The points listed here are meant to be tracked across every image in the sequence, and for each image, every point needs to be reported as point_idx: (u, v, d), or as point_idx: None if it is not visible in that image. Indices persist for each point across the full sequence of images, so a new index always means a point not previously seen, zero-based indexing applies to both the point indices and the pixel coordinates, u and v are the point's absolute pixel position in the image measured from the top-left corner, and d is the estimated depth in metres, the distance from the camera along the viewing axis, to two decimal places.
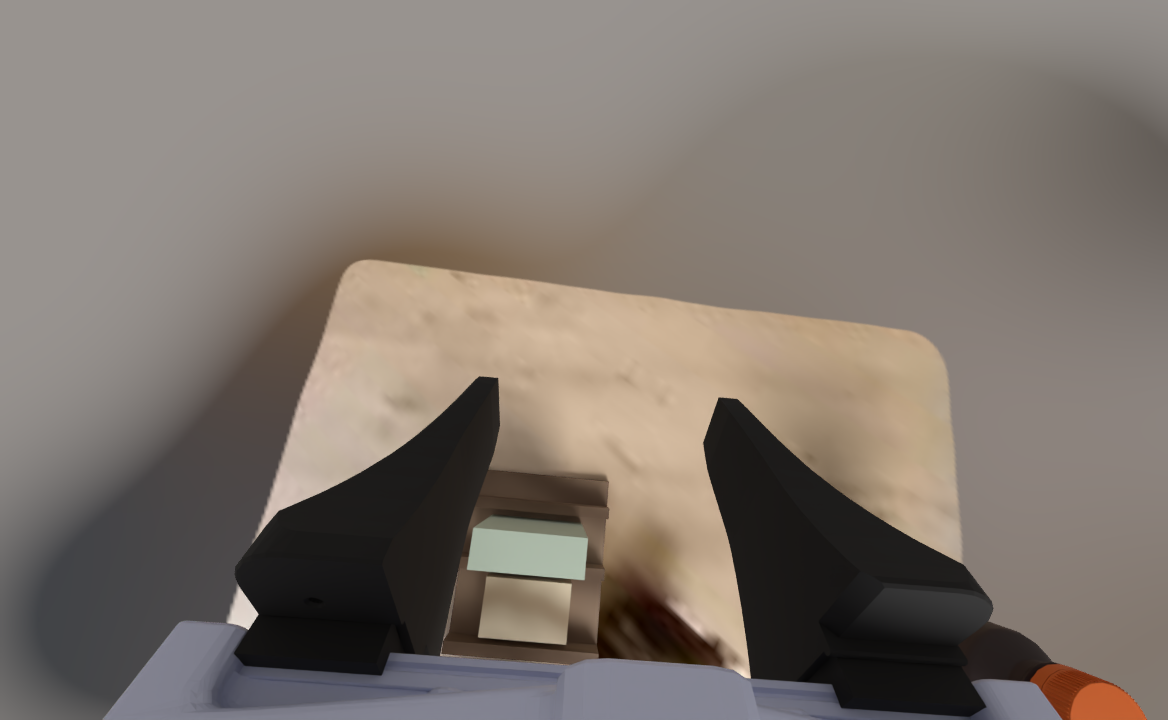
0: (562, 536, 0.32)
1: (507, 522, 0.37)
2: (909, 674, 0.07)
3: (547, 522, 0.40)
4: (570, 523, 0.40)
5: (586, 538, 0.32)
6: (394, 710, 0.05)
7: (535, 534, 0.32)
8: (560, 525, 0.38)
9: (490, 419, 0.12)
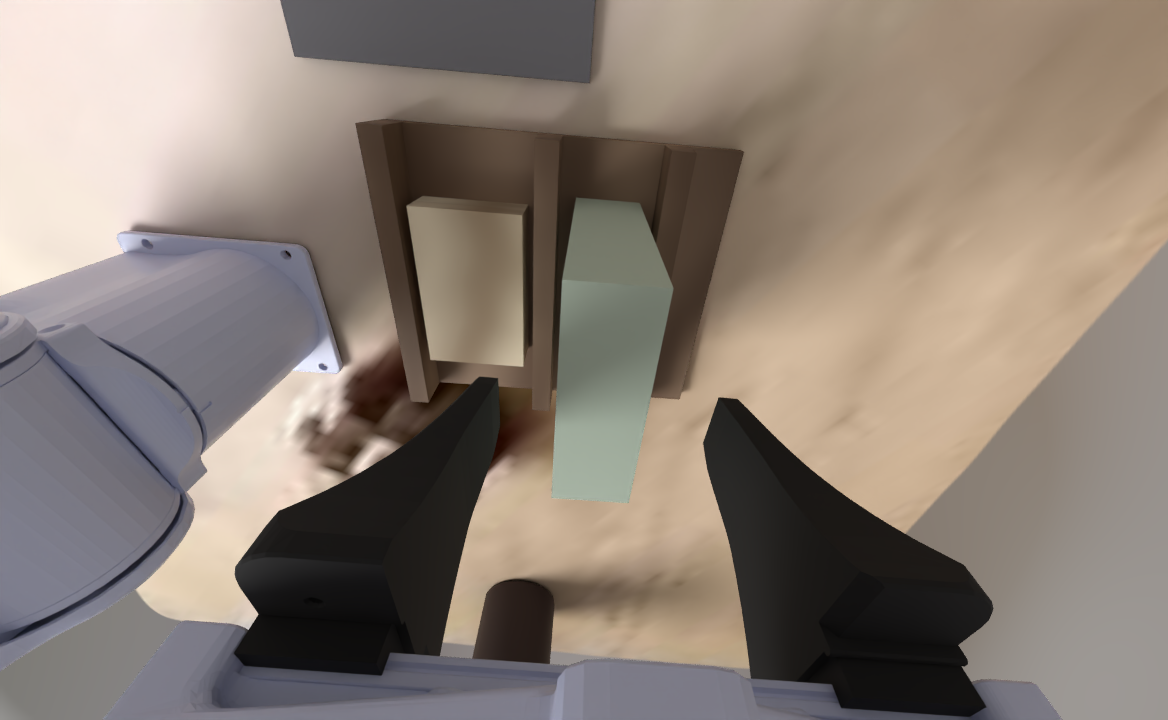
0: (634, 465, 0.15)
1: None
2: (909, 674, 0.07)
3: None
4: None
5: (627, 499, 0.16)
6: (394, 710, 0.05)
7: (643, 423, 0.14)
8: None
9: (490, 419, 0.12)
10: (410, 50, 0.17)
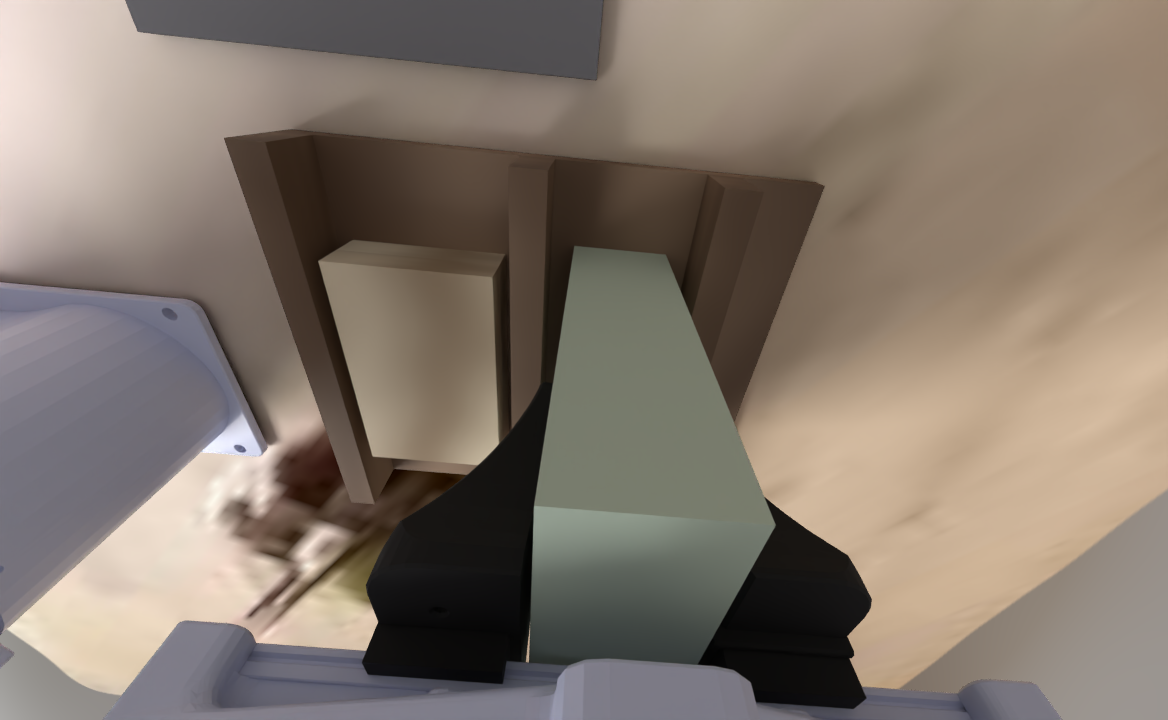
0: None
1: None
2: (793, 665, 0.07)
3: None
4: None
5: None
6: (394, 710, 0.05)
7: None
8: None
9: None
10: (316, 24, 0.11)
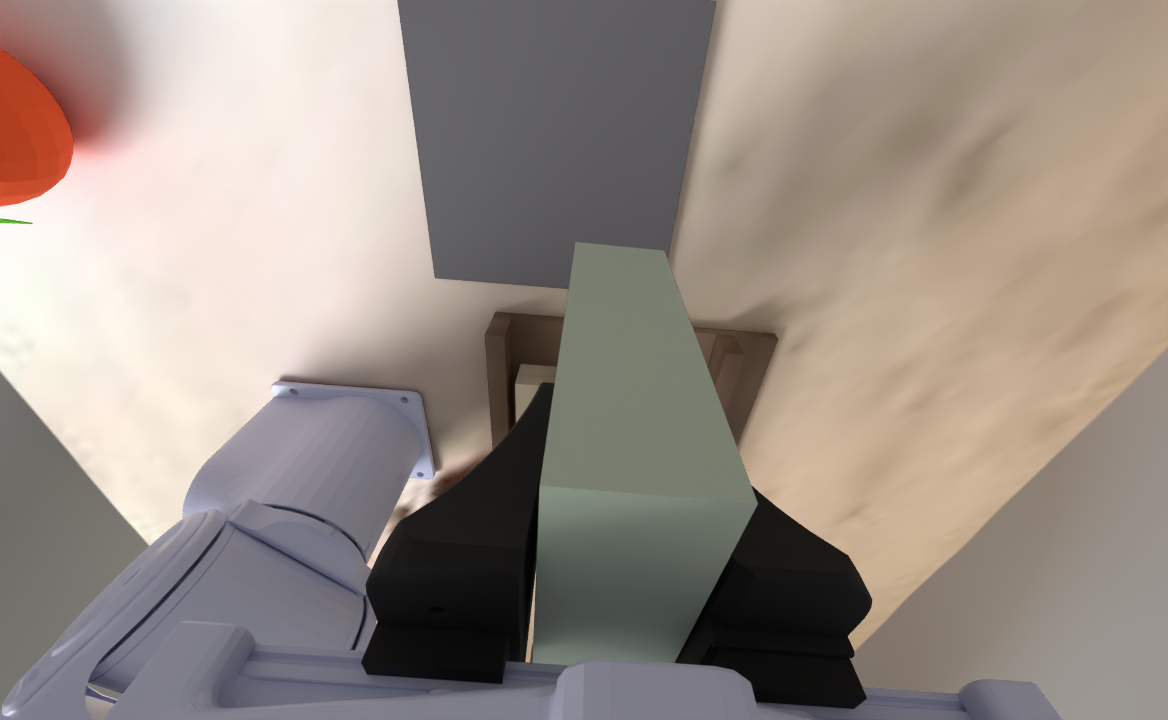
0: None
1: None
2: (793, 665, 0.07)
3: None
4: None
5: None
6: (394, 710, 0.05)
7: (676, 652, 0.08)
8: None
9: None
10: (524, 275, 0.22)
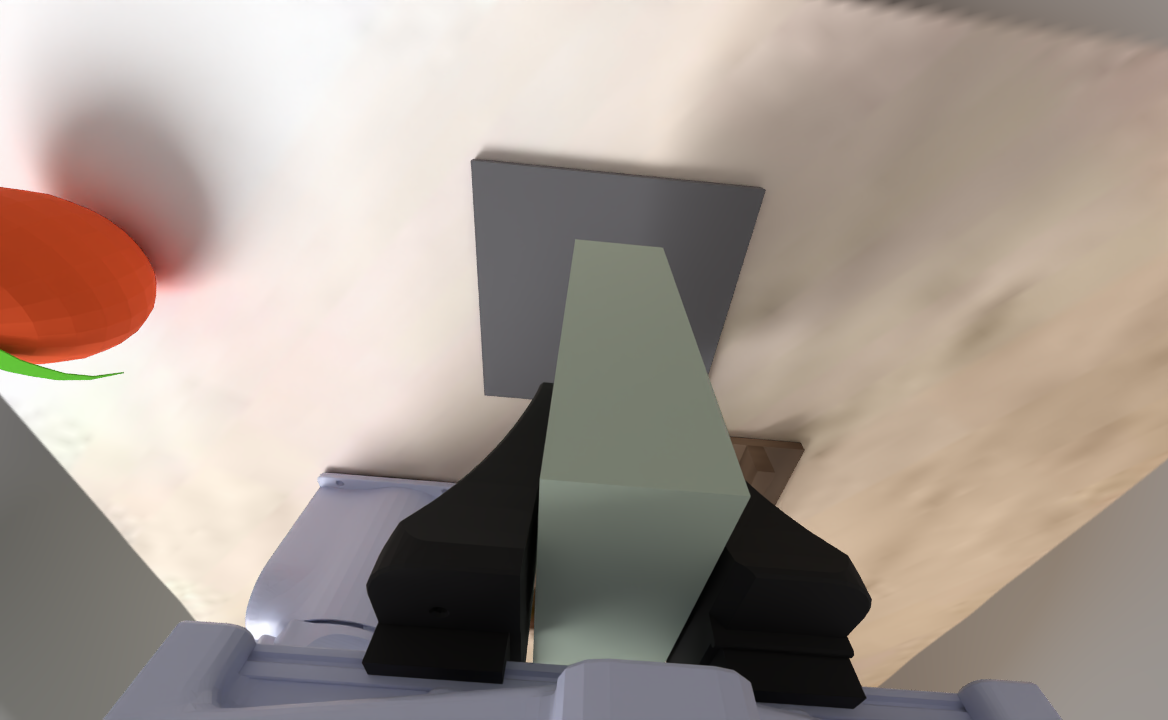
0: None
1: None
2: (793, 665, 0.07)
3: None
4: None
5: None
6: (394, 710, 0.05)
7: (673, 640, 0.09)
8: None
9: None
10: None
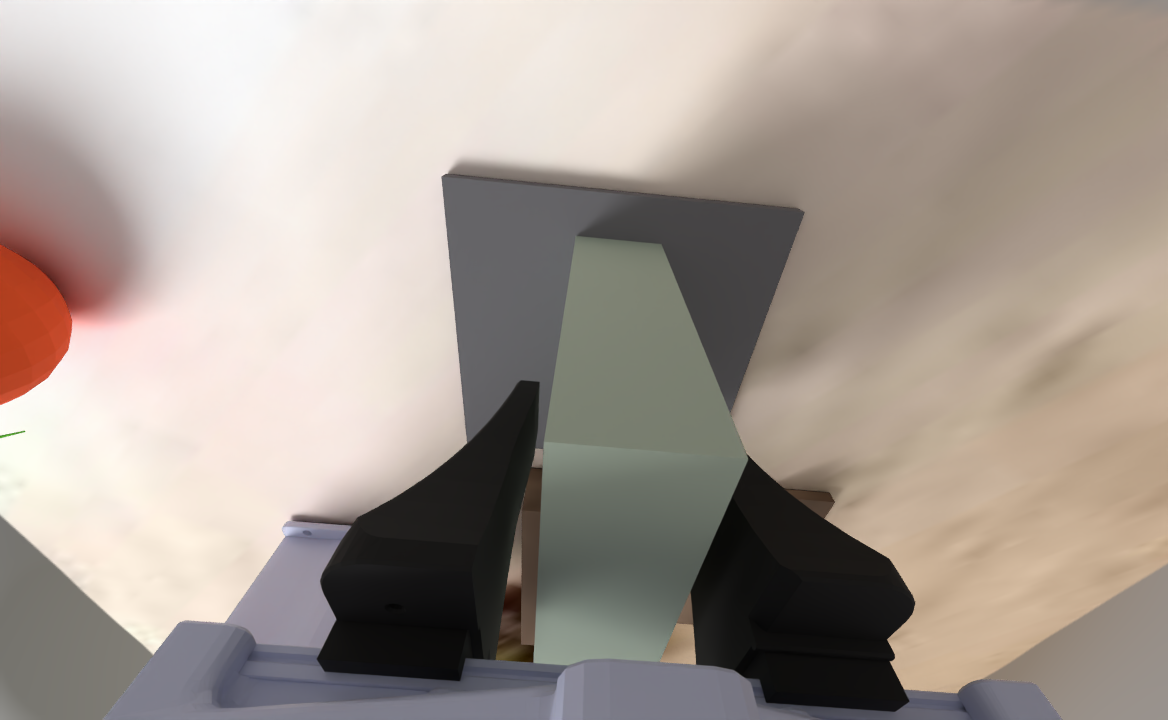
0: None
1: None
2: (834, 668, 0.07)
3: None
4: None
5: None
6: (394, 710, 0.05)
7: (674, 620, 0.09)
8: None
9: (534, 423, 0.12)
10: None
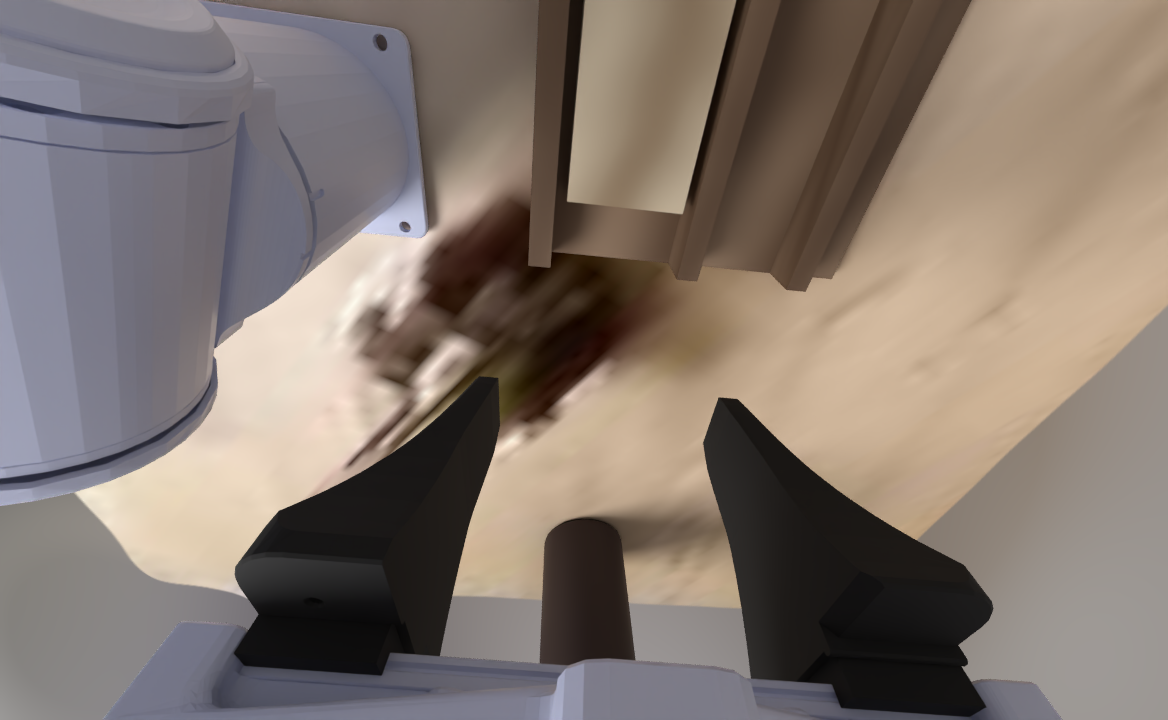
0: None
1: None
2: (909, 674, 0.07)
3: None
4: None
5: None
6: (394, 710, 0.05)
7: None
8: None
9: (490, 419, 0.12)
10: None
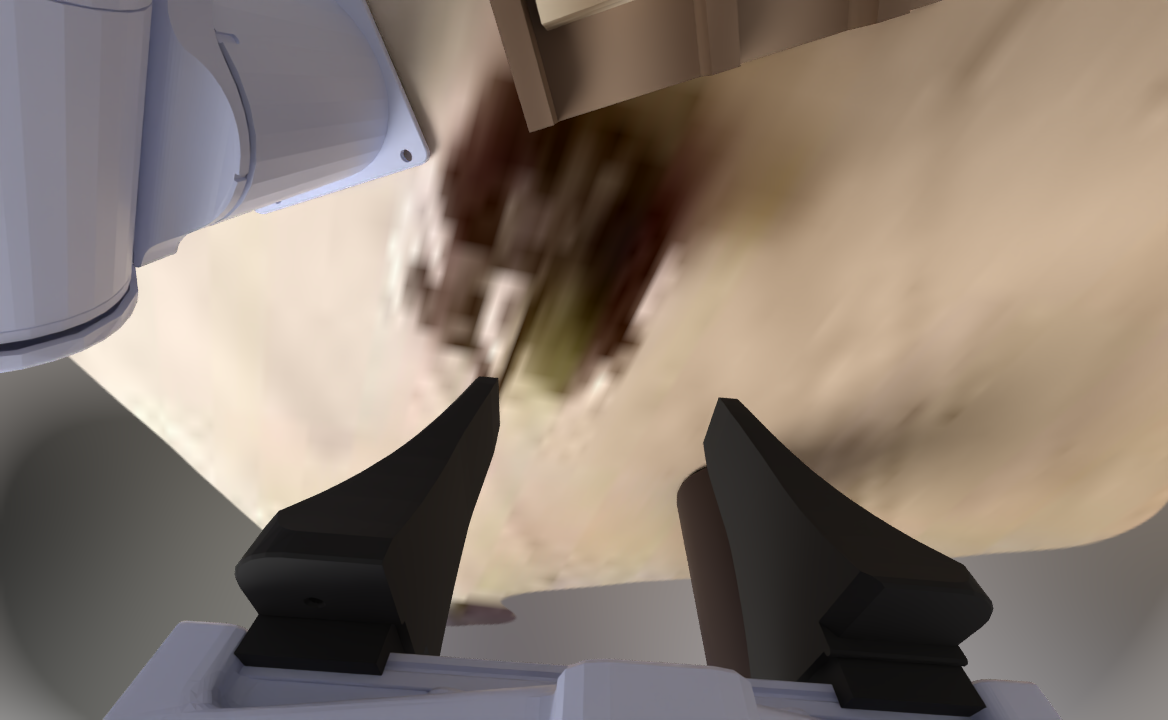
0: None
1: None
2: (909, 674, 0.07)
3: None
4: None
5: None
6: (394, 710, 0.05)
7: None
8: None
9: (490, 419, 0.12)
10: None
